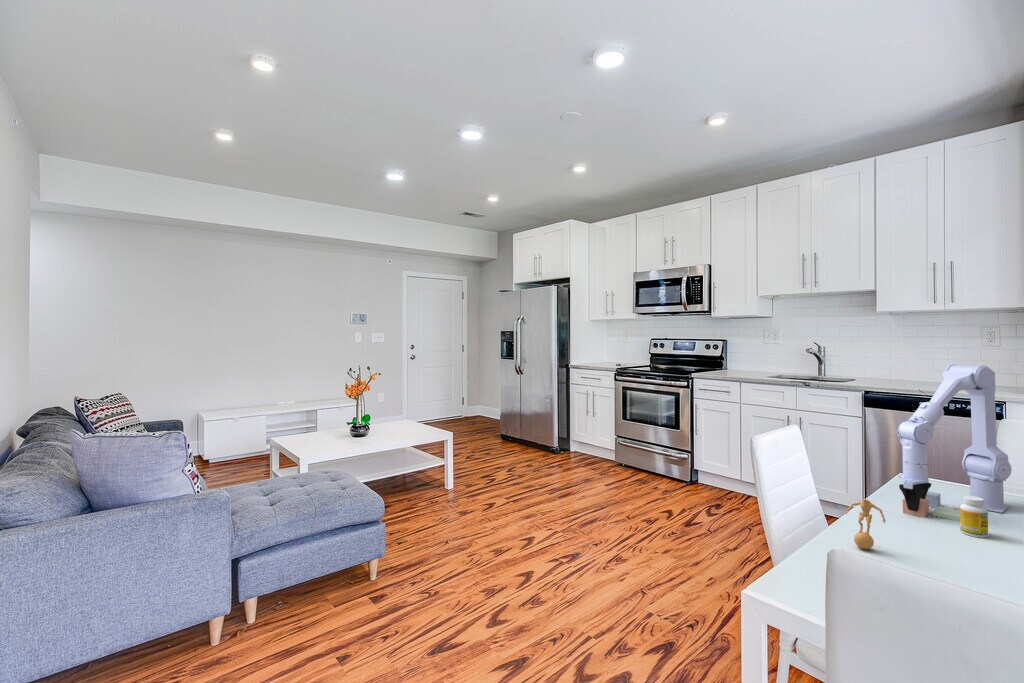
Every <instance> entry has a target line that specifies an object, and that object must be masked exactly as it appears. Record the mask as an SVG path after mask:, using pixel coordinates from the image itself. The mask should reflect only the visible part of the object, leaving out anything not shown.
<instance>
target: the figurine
mask: <svg viewBox="0 0 1024 683" xmlns="http://www.w3.org/2000/svg"><path fill="white" fill-rule="evenodd" d="M853 506H860V508H861V511H860V512H859V513H858V514H859V515H858V519H857V520H858V523H859V525H860V528H859V531H858V532H857V533H856V534H855V535H854V537H853V540H854V543H855V545H856V546H857V547H858V548H860V549H862V550H869V549H871V548H873V546H874V544H875V541H874V538H873V536H871V535H870V528H871V523H872V518H873V515H872V514H870V512H871V511H872V510H871V509H873V508H874V509H875V510H877V511H879V514H880V516H881V518H882V520H881V521H883V522H882V524H883V523H884V524H886V518H885V515H884V513H883V510H882V509H881V508H880V507H878V506H877V505H875V504H874V503H872V502H871V501H870V500H868V499H866V498H863V499H862V501H857V502H852V503H851V504H850V506H849V507H847V510H846V511H845V515H847V514H848V513H849V511H850V510H851V509H852V508H853ZM864 519H865V521H866V523H867V524H866V526H867V528H866V532H864V531H863V529H864V526H863V525H864V524H863V522H862V521H864Z"/></svg>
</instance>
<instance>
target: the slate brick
mask: <svg viewBox="0 0 1024 683" xmlns="http://www.w3.org/2000/svg"><path fill="white" fill-rule="evenodd" d="M925 499H926V500H929V507H931V508H930V509H933V508H937V507H938V506H939V507H942V506H941V493H939V492H933V491H928V492H927V495H926V498H925Z"/></svg>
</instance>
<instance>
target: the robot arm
mask: <svg viewBox="0 0 1024 683" xmlns="http://www.w3.org/2000/svg"><path fill="white" fill-rule="evenodd" d="M941 377H942V382H941V383H940V384H939V386H938V388H937V389H936V391H935V392H934V394H933V395H932V396H931V399H930V400H929V401H926V402H925V401H924V402H922V403H920V404H919V406H918V408H917V409H916V410H915V411H914V412H913V414H911V417H910V418H909V419H908V420H907V421H906V420H905V421H903V422H901V423H900V424H899V425H898V427H897V429H896V435H897V437H898V438H899V442H900V444H901V448H902V450H901V451H902V452H901V453H902V474H901V473H899V474H898V475H897V478H899V479H902V481H903V484H902V483H901V484H899V485H898V487H899V490H900V491H901V493H902V495H903V497H904V498H905V500H906V504H907V507H908V510H912V511H916V512H917V511H918V509H919V504H920V498H921V499H925V498H926V495H927V492H929V489H930V488H931V487H932V483H930V481H929V473H928V472H929V470H928V468H929V467H928V464H929V463H928V443H929V442H930V441H931V440H932V439H933V436H934V430H935V426H936V425H937V424H938V422H939V421H940V420H941V419H942V417H943V416H944V414H945V412H944V407H945V406H946V405H947V404H948V403H949V402H950V401H951V400H952V399H953V398H954V397H955V396H956V395H957V394H958V393H959V392H960V391H965V392H966V393H967V394H969V396H970V408H971V409H970V414H971V415H970V417H971V418H970V419H971V443H972V444H971V445H970V446H969V447H967V448H965V449H964V452H963V458H962V460H961V465H962V468H963V470H964V472H967V473H966V474H967V476H969V483H970V485H969V486H970V487H969V488H970V489H969V490H970V492H969V493H970V496H974V497H979V498H982V499H984V505H983V507H985V508H986V509H987V511H990V512H995V513H1000V514H1004V512H1005V511H1006V510H1007V509H1008V507H1009V505H1008V504H1006V503H1005V501H1004V500H1005V499H1004V498H1005V497H1004V496H1005V495H1004V491H1005V490H1004V482H1006V481H1007V479H1009V477H1010V476H1011V474H1012V470H1013V469H1012V465H1011V464H1010V462H1009V455H1008V454H1007V453H1006V452H1004V451H1003V450H1002V449H1001V448H999V447H998V445H997V443H998V442H997V440H998V439H997V421H996V420H997V416H996V415H997V414H996V372H995V371H994V370H992V368H990V367H989V366H987V365H966V364H965V365H963V364H962V365H961V364H956V363H955V364H949V365H948V366H947V367H946V368H945V370H944V372H942V375H941Z"/></svg>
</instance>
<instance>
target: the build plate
mask: <svg viewBox="0 0 1024 683" xmlns="http://www.w3.org/2000/svg"><path fill="white" fill-rule="evenodd" d="M932 515H933V516H932ZM931 516H932V517H936V516H938V517H937V518H941V517H943V518H942V519H946V518H947V519H946V520H951V519H952V520H951V521H955V520H958V521H957V522H960V510H955V509H950V508H945V506H944V507H943V506H940V507H939V506H938V507H937V508H936V509H933V510H931Z"/></svg>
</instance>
